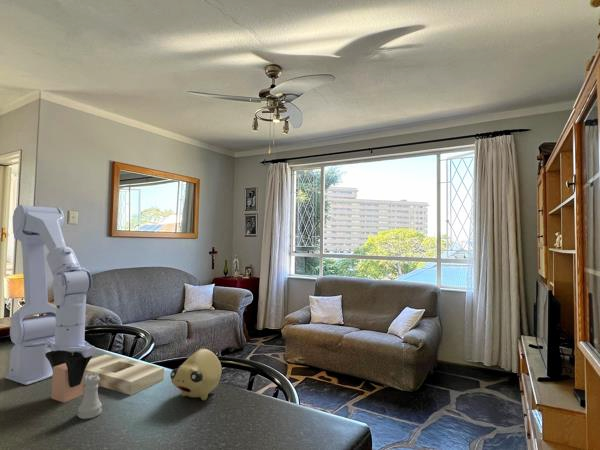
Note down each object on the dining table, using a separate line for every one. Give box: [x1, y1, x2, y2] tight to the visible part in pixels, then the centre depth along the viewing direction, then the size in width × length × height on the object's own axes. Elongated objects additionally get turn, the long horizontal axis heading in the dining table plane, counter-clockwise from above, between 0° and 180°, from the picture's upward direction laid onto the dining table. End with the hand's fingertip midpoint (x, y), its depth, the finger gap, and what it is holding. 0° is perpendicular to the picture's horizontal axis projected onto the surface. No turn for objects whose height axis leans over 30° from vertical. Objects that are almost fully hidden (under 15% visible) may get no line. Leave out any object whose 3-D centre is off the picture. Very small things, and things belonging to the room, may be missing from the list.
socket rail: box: [84, 354, 165, 396], centre depth 91 cm, size 22×10×3 cm, turn 66°
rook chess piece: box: [76, 373, 103, 420], centre depth 73 cm, size 4×4×8 cm
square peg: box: [50, 363, 85, 404], centre depth 81 cm, size 4×4×7 cm
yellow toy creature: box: [170, 348, 222, 401], centre depth 82 cm, size 10×12×11 cm
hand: (68, 383), depth 81 cm, fingers closed on square peg, 4 cm apart
